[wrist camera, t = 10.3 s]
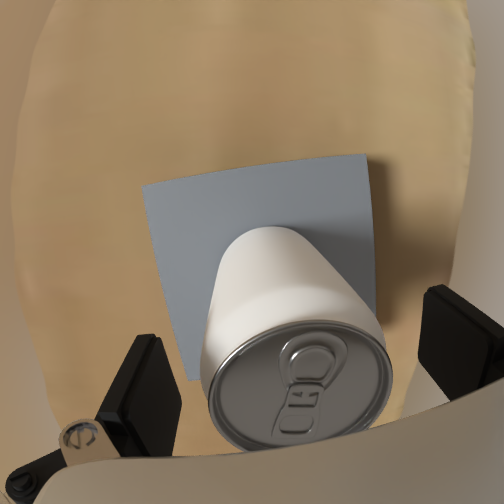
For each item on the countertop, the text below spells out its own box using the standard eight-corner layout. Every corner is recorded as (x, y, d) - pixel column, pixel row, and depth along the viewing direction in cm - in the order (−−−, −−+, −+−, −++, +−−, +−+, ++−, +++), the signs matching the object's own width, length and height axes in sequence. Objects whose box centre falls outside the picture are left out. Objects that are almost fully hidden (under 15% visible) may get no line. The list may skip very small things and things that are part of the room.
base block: (157, 183, 22) (141, 186, 18) (345, 156, 22) (365, 153, 19) (194, 353, 26) (188, 380, 22) (358, 326, 26) (375, 349, 22)
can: (328, 230, 20) (433, 310, 8) (310, 325, 21) (368, 462, 9) (223, 218, 19) (197, 293, 8) (214, 317, 21) (192, 462, 9)
